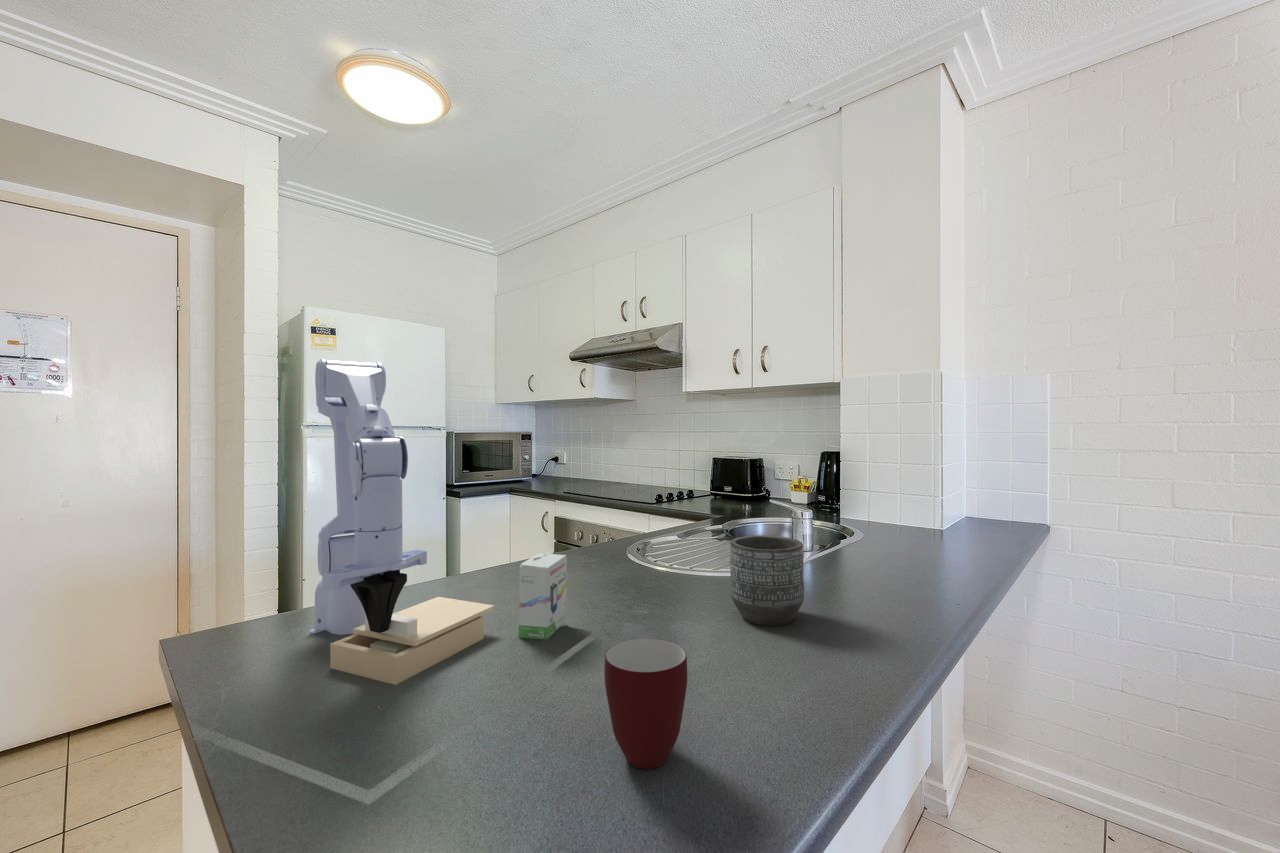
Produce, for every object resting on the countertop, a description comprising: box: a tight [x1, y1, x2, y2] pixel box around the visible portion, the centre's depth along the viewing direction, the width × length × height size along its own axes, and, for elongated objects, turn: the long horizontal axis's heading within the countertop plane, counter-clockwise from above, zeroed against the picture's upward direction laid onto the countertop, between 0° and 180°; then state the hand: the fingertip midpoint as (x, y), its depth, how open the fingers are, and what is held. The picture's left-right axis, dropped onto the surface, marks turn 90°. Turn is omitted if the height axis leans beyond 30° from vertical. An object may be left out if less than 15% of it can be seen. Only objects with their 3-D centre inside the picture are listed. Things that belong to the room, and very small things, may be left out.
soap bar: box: [370, 639, 413, 654], centre depth 73 cm, size 5×4×2 cm
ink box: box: [518, 552, 568, 640], centre depth 84 cm, size 9×5×12 cm, turn 168°
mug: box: [604, 638, 688, 770], centre depth 53 cm, size 10×8×10 cm
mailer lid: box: [353, 596, 495, 646], centre depth 78 cm, size 12×16×3 cm
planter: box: [729, 535, 805, 627], centre depth 91 cm, size 12×12×13 cm
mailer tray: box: [329, 616, 485, 686], centre depth 76 cm, size 12×16×4 cm
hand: (379, 630), depth 71 cm, fingers closed
